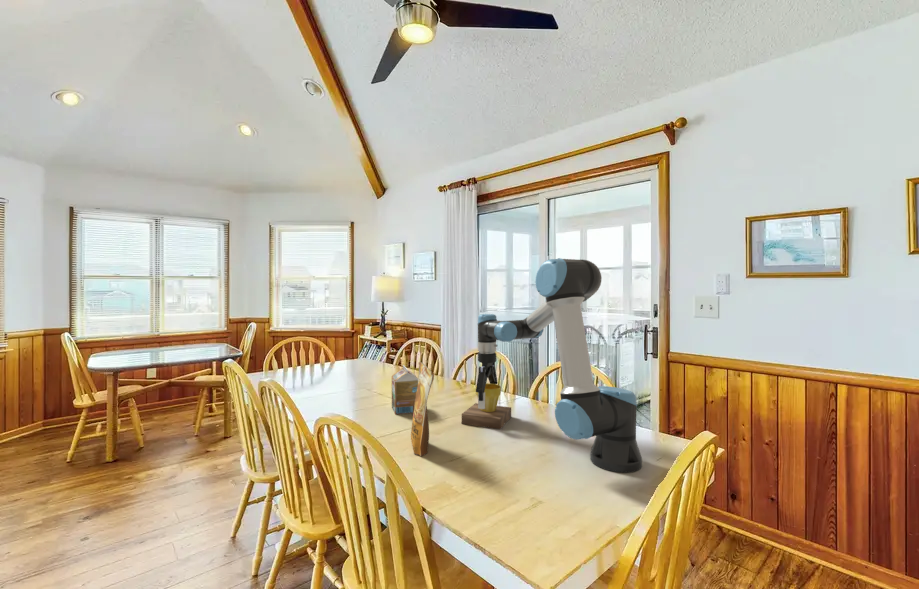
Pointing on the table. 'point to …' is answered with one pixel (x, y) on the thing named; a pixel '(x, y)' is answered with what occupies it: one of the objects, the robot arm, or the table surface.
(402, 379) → the milk carton
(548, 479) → the table surface
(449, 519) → the table surface
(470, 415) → the block
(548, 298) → the robot arm
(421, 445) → the pancake mix bag
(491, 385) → the plant pot
